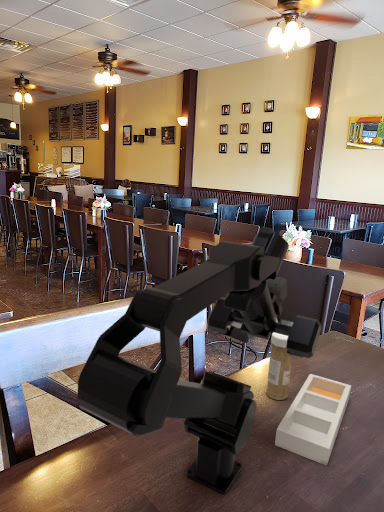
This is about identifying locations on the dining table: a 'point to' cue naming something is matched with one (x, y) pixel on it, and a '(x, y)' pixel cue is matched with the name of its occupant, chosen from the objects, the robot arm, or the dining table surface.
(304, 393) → the condiment rack
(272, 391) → the sprinkles bottle
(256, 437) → the dining table surface
